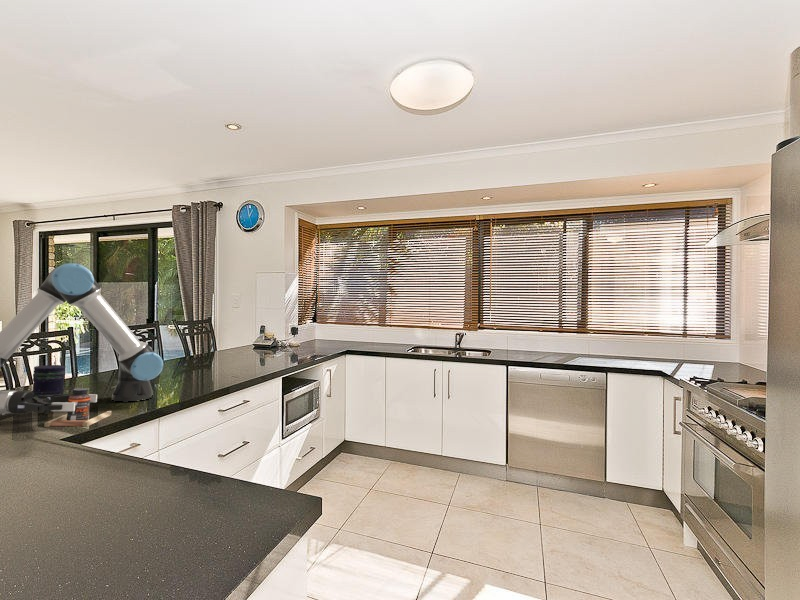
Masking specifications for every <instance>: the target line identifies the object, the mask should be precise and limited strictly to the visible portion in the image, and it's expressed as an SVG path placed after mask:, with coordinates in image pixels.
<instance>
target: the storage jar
mask: <svg viewBox="0 0 800 600" xmlns="http://www.w3.org/2000/svg"><path fill="white" fill-rule="evenodd" d="M32 377H33V378H32V381H33V384H32V385H33V387H32V390H31V392H33V393H34V395H35V397H38V396H39V395H43V396H44V395H56V394H65V393H64V380H65V378H66V365H65V364H64V365H63V364H51V365H50V364H46V365H44V364H43V365H36V366H34V367H33V375H32ZM49 403H50V402H49Z"/></svg>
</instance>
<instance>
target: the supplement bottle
mask: <svg viewBox="0 0 800 600" xmlns="http://www.w3.org/2000/svg"><path fill="white" fill-rule="evenodd" d="M88 391H89V389H88V388H85V387H84V388H83V387H78V388H73V390H72V393H73V394H72V393H71V394H72V395H71V396H70V397H69V401H68V402H67V403H75V411H66V414H67V419H66V420H89V415H90V404H91V402H90V395H88V394H89V393H88Z"/></svg>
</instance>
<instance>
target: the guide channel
mask: <svg viewBox="0 0 800 600" xmlns="http://www.w3.org/2000/svg"><path fill="white" fill-rule="evenodd" d="M110 416H112V410H107V411H105V412H103V413H101V414H98V415H97V416H94V417H92V418H90V419H88V420H67V413H66V414H63V415H60V416H58V417H55V418H53V419H50V420H47V421H45V422H44V423H43V424H44V425H43V426H44V428H49V427H59V426H60V427H64V426H65V427H66V426H67V427H69V426H71V427H72V426H74V427H77V426H78V427H79V426H82V427H83V428H88V427H89V426H91V425H93V424H95V423H98V422H99V421H102V420H103V419H106V418H108V417H110Z"/></svg>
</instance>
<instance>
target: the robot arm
mask: <svg viewBox="0 0 800 600" xmlns="http://www.w3.org/2000/svg"><path fill="white" fill-rule="evenodd" d="M36 290H37V293H36V294H35V296H33V297H32V299H31V300H30V301H29V302H28V303H27V304H26V305H25V306H23V308H21V310H19V312H17V314H16V315H15V316H14V317H13V318H12V319H11V320H10V321H9V323H7V324H6V326H4V328H2V329H1V331H0V368H1V367H2V366H4V365H5V363H6V362H7V361H8V359H10V357H11V356H12V355H13V354H14V353H15V352H16V351H17V350H18V349H19V347H21V346H22V345H23V344H24V342H25V341H26V340H28V338H29V337H30V336H31V335H32V334H33V333H34V332H35V331H36V330H37V328H38V327H40V325H41V324H42V323H43V322H44V321H45V320H46V319H47V318H48V317H49V316H50V315H51V313H52V312H54V310H55V309H56V308H57V307H58V306H59V305H63V304H65V303H67V304H68V305H69V306H74V307H77V308H78V309H79V311H81V313H82V314H83V315H84V316H85V317H86V318H87V320H89V322H90V323H91V324H92V326H93V327H95V328H96V330H97V332H99V333H100V334H101V336H102V337H103V338H104V339H105V340H106V341H107V342H108V343H109V345H110V346H111V347H112V348H113V349H114V351H115V352H116V353H117V354H118V362H119V365H118V379H117V383H116V386H115V387H114V390H113V392H112V394H111V401H112V400H114V401H113V402H115V401H123V402H122V403H129V402H128V401H137V400H142V399H146V398H149V397H151V396H152V395H153V396H154V392H153V388H152V385H151V382H150V381H151V380H153V379H155V378H157V377H158V376H159V375H160V374H161V373H162V371H163V368H164V361H163V358H162V357H161V356H160V355H159V354H158V353H156V352H155V351H154V350H153V348H152V347H151V346H150V345H149V344H148V343H147V342H146V341H145V342H144V341H140V339H138V337H137V336H136V335H135V334H134V332H133V331H132V330H131V329H130V328H129V326H127V324H126V323H125V322H124V320H123V319H122V318H121V317H120V315H119V314H118V313H117V312H116V311H115V310H114V309H113V306H111V305H110V304H109V302H108V301H107V300H106V299H105V297H104V296H103V295H102V294H101V291H102V287H101V286H100V284H99V283H98V282H97V281H96V279H95V277H94V275H93V273H92V271H91V270H90V269H88V268H87V267H86V266H85V265H83V264H79V263H75V262H73V263H71V262H68V263H63V264H61V265H59V266H57V267H55V268H53V269H52V270H51V271H50V273H48V276H47V277H46V278H45V280H44V281H43V282H42V284H41V285H40V286H39V287H38V288H37V289H36ZM72 394H73V392H72V393H64V394H56V395H44V396H43V395H39V396H38V397H35V395H34V393H33V392H32V390H0V414H1V415H2V416H6V415H7V414H12V415H13V414H17V415H19V414H20V415H21V414H22V415H24V414H27V413H29V412H31V413H39V414H43V413H44V414H45V415H49V414H50V412H67V411H75V403H68V401H69V397H70V396H71V395H72ZM87 394H88V395H90V403H97V402H98V394H95V393H94V394H91V393H87ZM49 402H50V403H49Z"/></svg>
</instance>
